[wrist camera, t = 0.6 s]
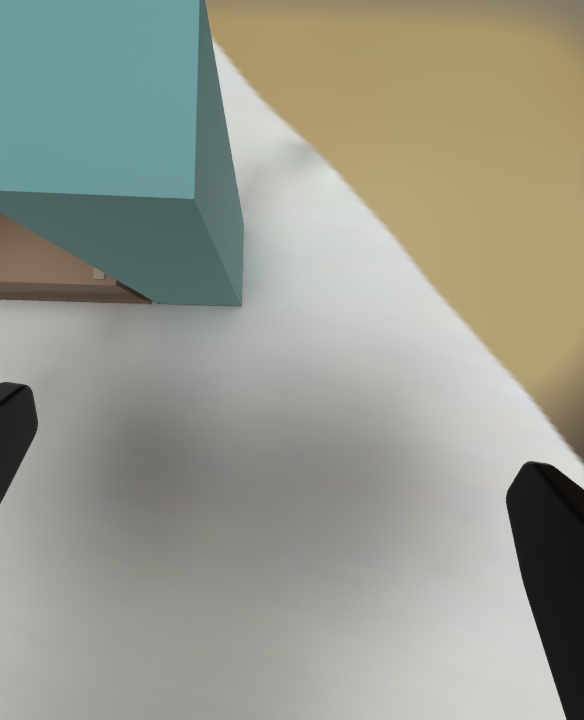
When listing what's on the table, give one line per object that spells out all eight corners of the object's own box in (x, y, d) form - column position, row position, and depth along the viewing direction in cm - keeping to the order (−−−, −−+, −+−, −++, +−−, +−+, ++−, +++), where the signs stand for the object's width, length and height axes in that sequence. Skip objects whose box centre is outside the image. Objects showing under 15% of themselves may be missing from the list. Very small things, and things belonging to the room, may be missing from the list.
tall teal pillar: (241, 306, 22) (194, 198, 8) (158, 303, 22) (-44, 189, 8) (243, 224, 22) (200, -27, 8) (160, 221, 22) (-35, -43, 8)
